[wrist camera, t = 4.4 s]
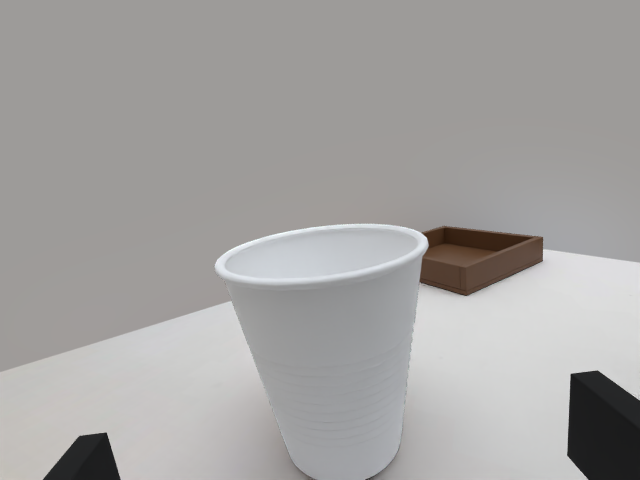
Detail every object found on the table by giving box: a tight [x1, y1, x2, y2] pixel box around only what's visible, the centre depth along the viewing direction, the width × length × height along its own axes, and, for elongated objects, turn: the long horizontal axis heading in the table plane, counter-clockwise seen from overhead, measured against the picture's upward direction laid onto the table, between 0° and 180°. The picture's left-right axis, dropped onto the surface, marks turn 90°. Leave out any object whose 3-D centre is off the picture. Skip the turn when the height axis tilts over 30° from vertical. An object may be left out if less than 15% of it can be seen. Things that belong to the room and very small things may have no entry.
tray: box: [419, 226, 543, 296], centre depth 45 cm, size 14×14×3 cm
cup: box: [214, 224, 429, 480], centre depth 18 cm, size 10×10×11 cm
